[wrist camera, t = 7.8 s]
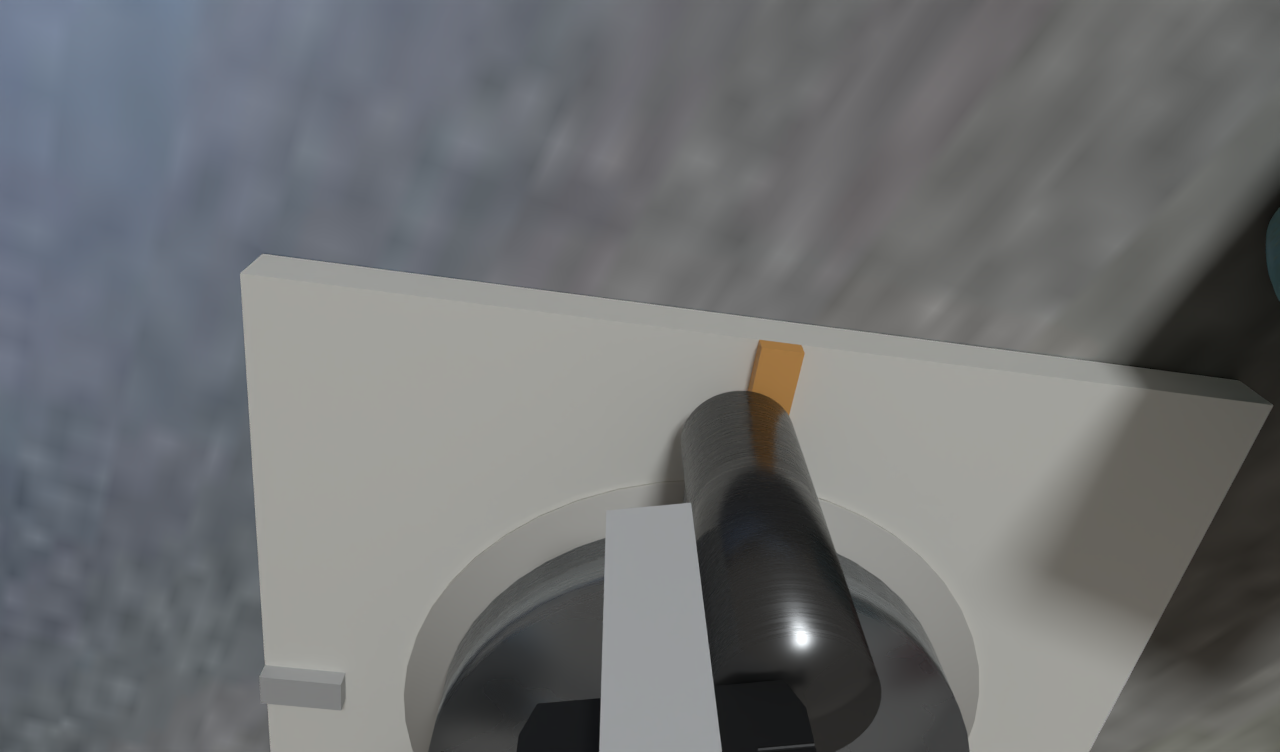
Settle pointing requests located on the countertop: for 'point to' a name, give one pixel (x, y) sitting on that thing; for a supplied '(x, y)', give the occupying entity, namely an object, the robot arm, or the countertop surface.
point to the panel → (653, 476)
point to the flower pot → (1274, 251)
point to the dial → (722, 610)
